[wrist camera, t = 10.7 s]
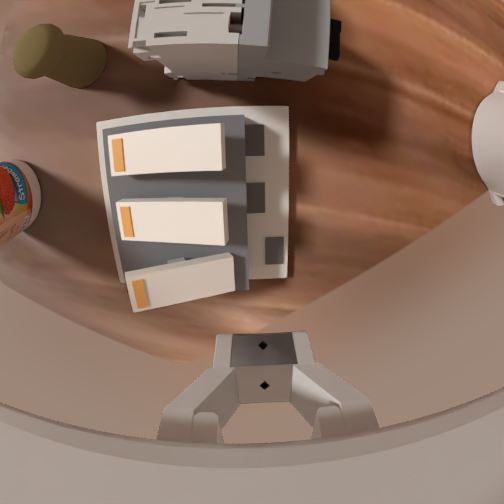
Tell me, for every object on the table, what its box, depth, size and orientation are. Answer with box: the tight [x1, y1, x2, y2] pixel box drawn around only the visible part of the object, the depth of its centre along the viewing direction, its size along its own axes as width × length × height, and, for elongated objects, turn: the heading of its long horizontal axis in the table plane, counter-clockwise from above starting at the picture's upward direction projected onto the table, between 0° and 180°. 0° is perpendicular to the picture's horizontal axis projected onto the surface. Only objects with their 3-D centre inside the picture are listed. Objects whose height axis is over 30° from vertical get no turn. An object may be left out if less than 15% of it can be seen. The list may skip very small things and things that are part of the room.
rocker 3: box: [125, 252, 235, 312], centre depth 28 cm, size 10×4×3 cm, turn 92°
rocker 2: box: [116, 197, 229, 246], centre depth 26 cm, size 10×4×3 cm, turn 91°
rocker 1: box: [108, 123, 226, 176], centre depth 23 cm, size 10×4×3 cm, turn 91°
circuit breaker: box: [128, 0, 341, 82], centre depth 19 cm, size 8×14×15 cm, turn 86°
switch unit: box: [96, 106, 289, 293], centre depth 30 cm, size 20×19×5 cm
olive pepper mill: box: [13, 24, 107, 88], centre depth 20 cm, size 6×6×11 cm
